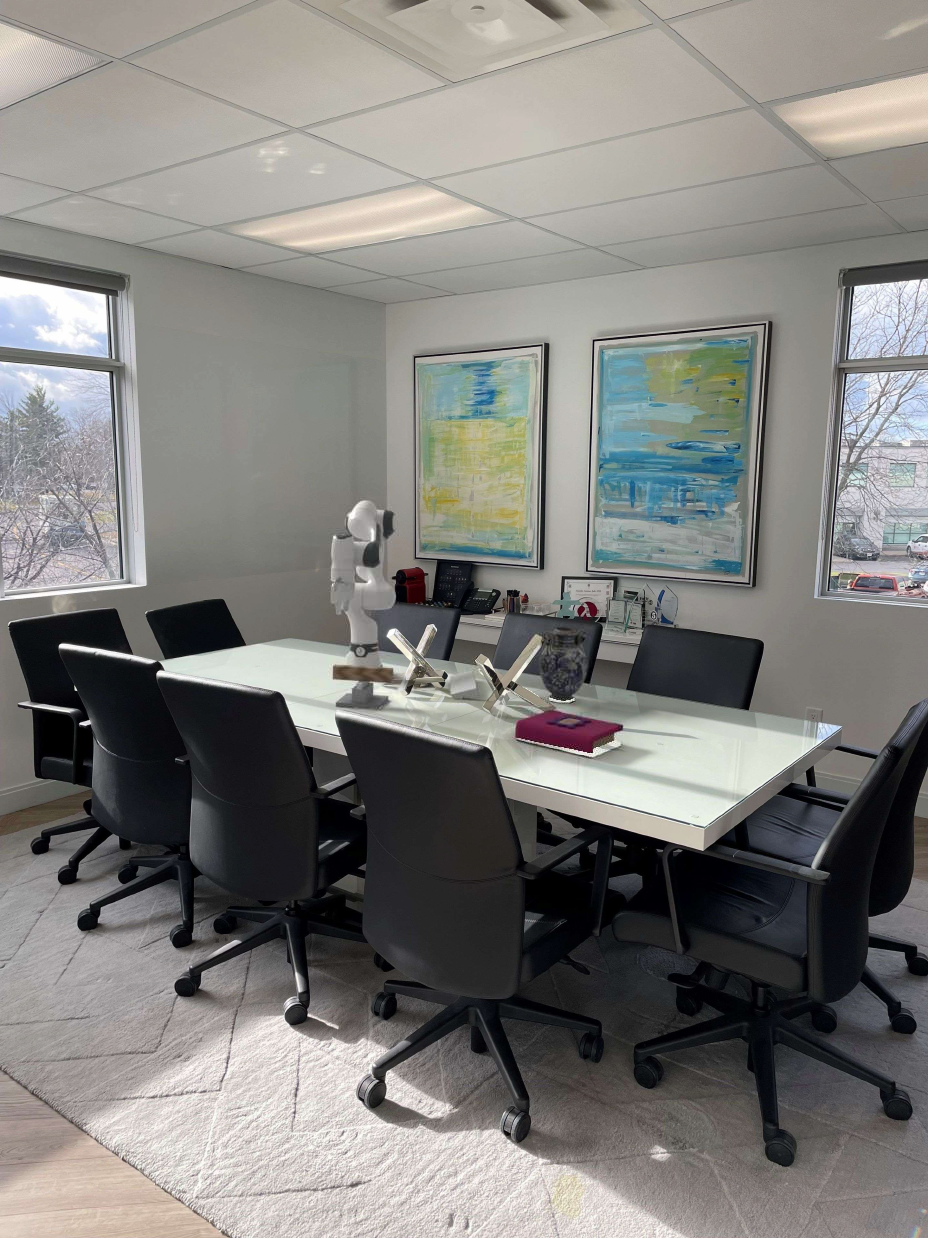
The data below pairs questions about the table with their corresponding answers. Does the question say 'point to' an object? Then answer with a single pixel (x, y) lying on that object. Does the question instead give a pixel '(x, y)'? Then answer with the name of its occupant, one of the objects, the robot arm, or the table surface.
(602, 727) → the book
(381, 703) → the stand
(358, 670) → the brown wooden bar
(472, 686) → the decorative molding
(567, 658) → the decorative vase
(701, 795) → the table surface
